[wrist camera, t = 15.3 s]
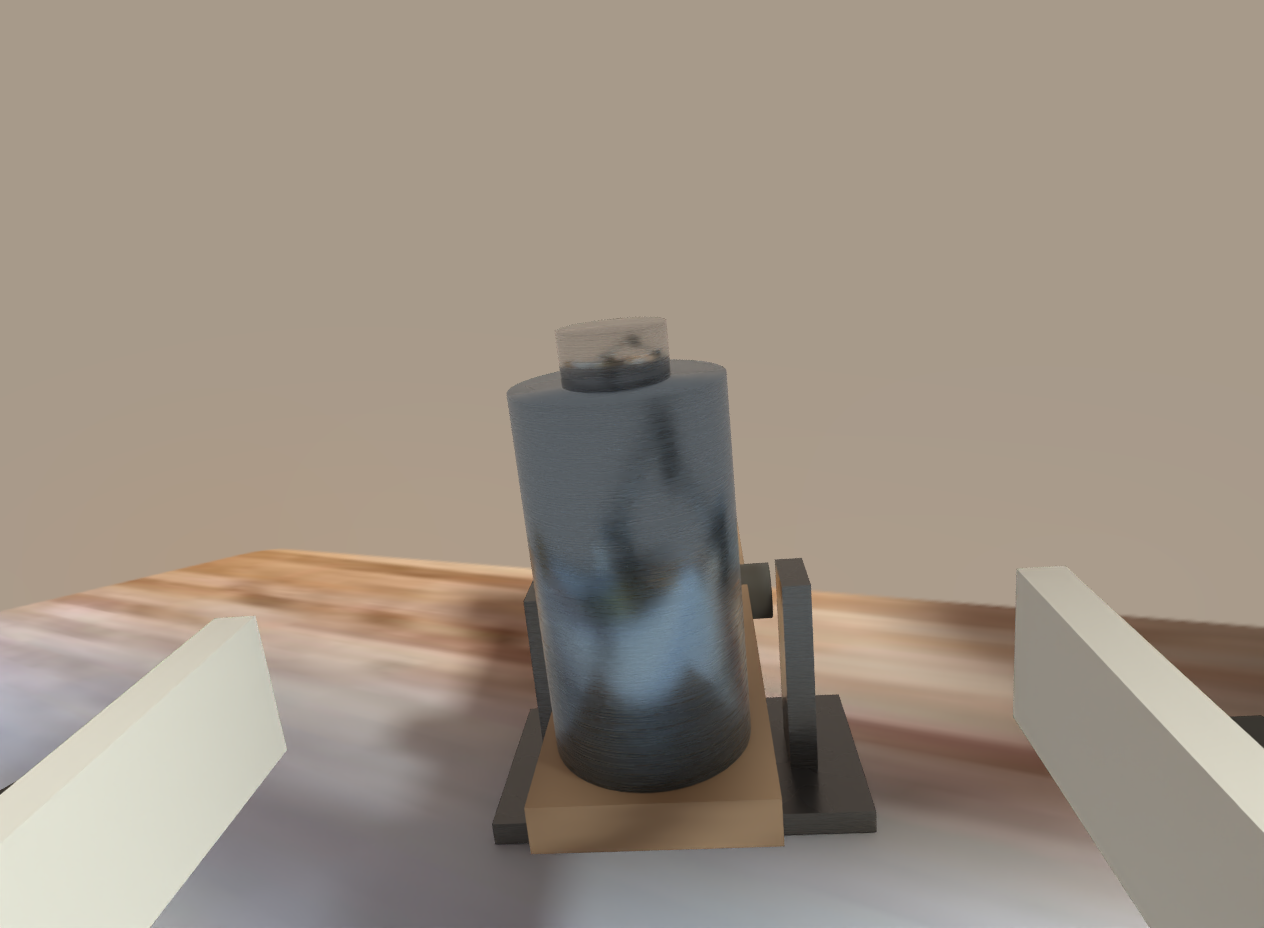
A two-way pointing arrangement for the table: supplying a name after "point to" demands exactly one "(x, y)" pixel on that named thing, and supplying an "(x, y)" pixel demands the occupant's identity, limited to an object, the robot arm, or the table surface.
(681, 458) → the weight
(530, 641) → the stand
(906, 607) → the table surface
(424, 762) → the table surface
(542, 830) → the beam
